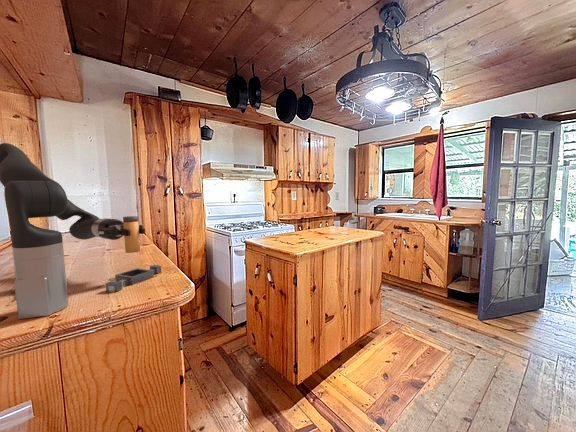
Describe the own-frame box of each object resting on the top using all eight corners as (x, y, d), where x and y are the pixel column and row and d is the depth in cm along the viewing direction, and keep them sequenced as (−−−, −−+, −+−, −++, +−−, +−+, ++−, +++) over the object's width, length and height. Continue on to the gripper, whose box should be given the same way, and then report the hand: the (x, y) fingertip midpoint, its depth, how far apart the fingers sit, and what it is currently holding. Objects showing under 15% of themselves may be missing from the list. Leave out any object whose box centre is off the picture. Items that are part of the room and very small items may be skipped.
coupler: (138, 252, 87) (136, 217, 86) (123, 253, 86) (121, 217, 85) (141, 249, 91) (139, 216, 90) (127, 250, 90) (125, 216, 89)
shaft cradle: (113, 293, 77) (112, 284, 77) (93, 289, 81) (93, 281, 81) (168, 273, 96) (168, 266, 96) (150, 270, 100) (150, 264, 99)
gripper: (85, 220, 88) (113, 223, 80) (127, 216, 101) (155, 218, 93) (86, 242, 89) (115, 246, 81) (128, 235, 101) (156, 239, 93)
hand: (136, 231), depth 87 cm, fingers closed on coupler, 4 cm apart
